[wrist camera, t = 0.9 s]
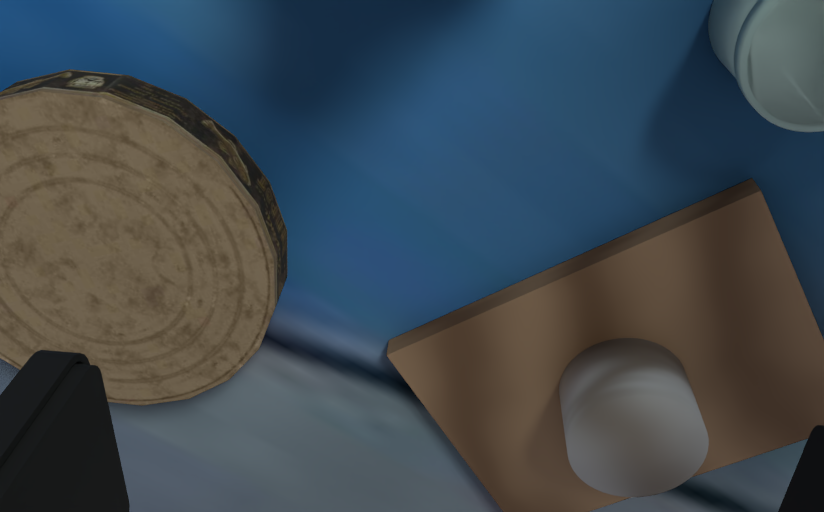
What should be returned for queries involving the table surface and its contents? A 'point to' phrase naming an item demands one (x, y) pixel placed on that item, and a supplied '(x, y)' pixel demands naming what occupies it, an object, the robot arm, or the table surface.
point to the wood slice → (132, 236)
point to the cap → (774, 57)
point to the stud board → (630, 295)
